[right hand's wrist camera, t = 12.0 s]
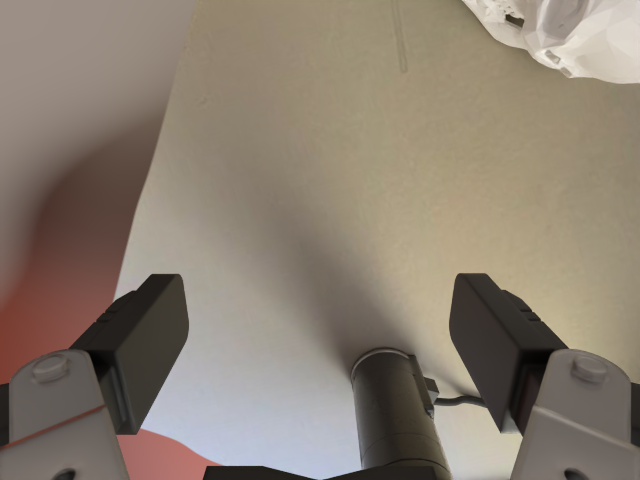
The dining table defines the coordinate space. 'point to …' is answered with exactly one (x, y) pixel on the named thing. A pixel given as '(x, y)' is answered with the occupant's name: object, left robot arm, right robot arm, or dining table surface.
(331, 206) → the dining table surface
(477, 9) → the skull
